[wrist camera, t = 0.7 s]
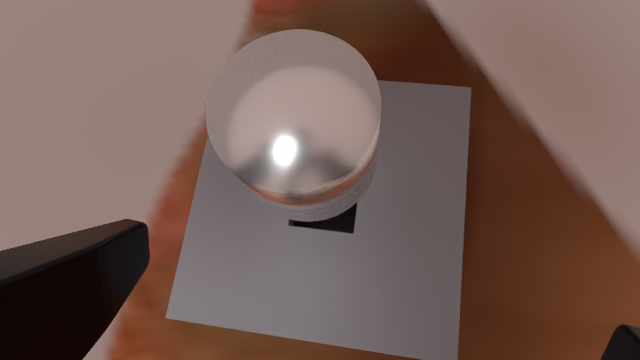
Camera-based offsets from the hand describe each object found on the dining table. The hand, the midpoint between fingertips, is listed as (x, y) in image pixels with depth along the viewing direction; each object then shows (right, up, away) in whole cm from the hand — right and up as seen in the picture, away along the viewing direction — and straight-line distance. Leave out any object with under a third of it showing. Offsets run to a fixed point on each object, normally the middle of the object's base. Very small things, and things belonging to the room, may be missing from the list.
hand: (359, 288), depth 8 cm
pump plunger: (0, +1, +9) cm, 9 cm away
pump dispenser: (0, 0, +13) cm, 13 cm away
